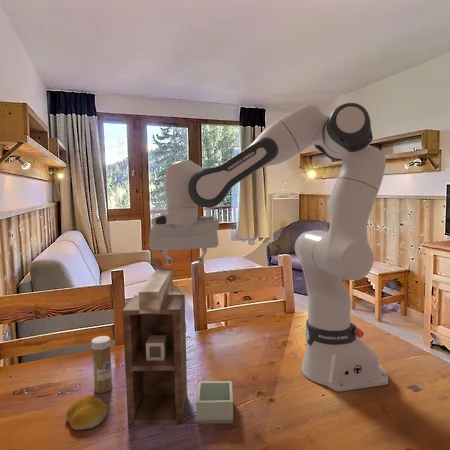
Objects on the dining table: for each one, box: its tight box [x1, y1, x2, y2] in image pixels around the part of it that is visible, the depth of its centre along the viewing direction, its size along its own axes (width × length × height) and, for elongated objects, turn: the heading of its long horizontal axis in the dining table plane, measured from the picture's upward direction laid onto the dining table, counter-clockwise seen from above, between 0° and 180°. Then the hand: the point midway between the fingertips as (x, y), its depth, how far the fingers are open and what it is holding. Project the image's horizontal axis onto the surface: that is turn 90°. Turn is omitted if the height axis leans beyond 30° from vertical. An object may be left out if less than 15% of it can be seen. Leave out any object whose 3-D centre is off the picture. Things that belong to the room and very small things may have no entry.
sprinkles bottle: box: [90, 335, 113, 394], centre depth 88 cm, size 5×5×13 cm
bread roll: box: [66, 394, 108, 431], centre depth 78 cm, size 8×9×4 cm
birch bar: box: [138, 267, 174, 314], centre depth 80 cm, size 4×20×4 cm, turn 1°
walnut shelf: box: [122, 294, 188, 426], centre depth 79 cm, size 12×10×26 cm
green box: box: [195, 380, 234, 425], centre depth 79 cm, size 8×8×5 cm
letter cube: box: [146, 335, 167, 361], centre depth 78 cm, size 4×4×4 cm
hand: (185, 263), depth 102 cm, fingers open, 8 cm apart
